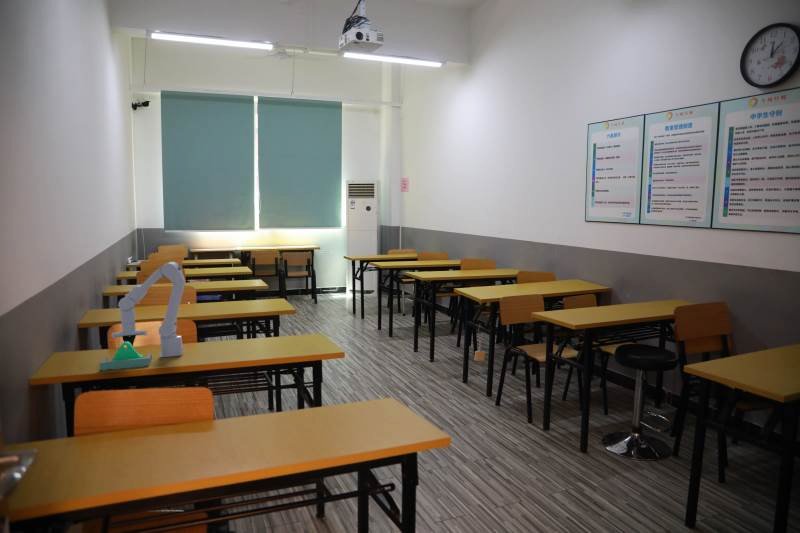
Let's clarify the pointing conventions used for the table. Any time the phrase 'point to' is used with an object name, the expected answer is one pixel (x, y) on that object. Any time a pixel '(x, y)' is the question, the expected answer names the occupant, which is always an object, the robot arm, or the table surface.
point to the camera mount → (126, 352)
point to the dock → (125, 363)
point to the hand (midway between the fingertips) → (130, 351)
